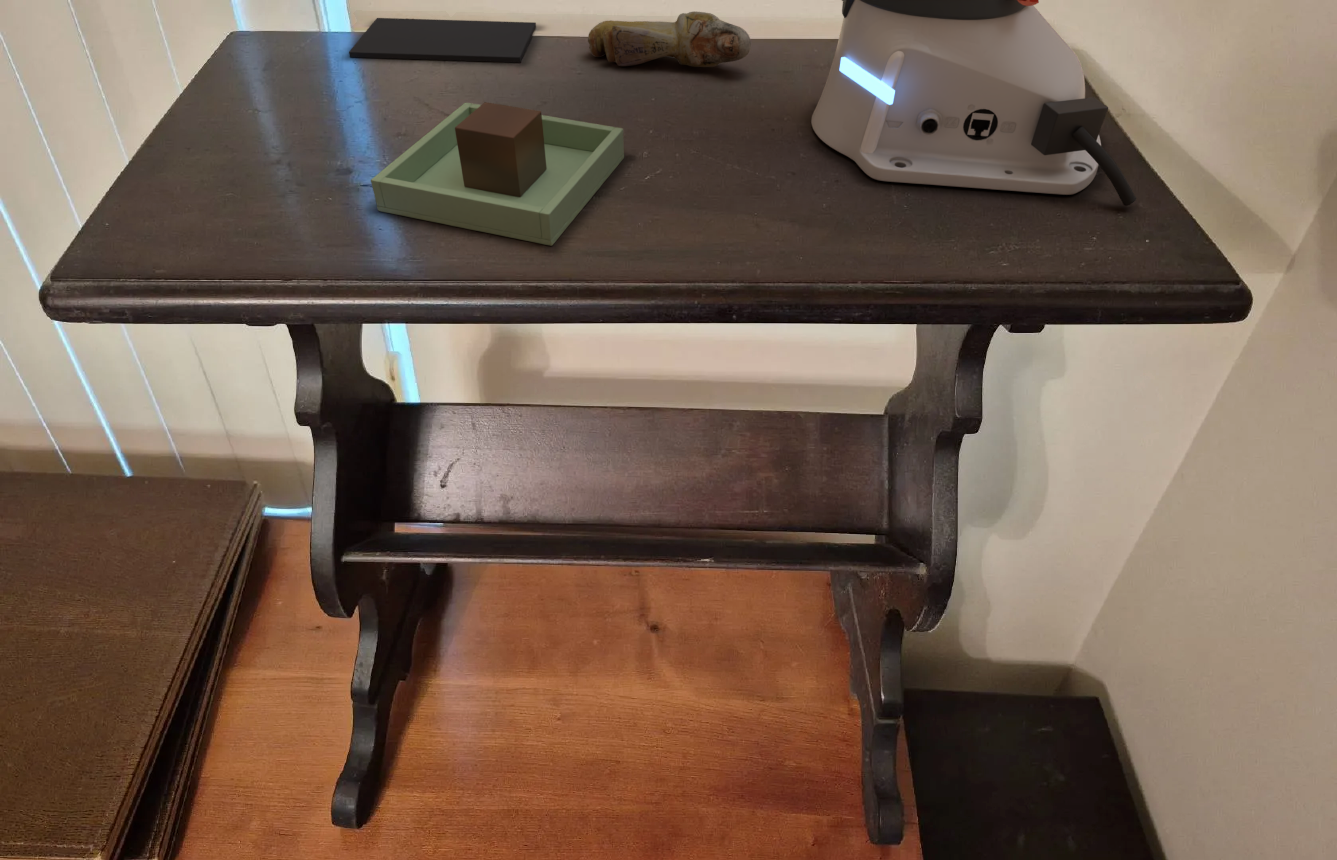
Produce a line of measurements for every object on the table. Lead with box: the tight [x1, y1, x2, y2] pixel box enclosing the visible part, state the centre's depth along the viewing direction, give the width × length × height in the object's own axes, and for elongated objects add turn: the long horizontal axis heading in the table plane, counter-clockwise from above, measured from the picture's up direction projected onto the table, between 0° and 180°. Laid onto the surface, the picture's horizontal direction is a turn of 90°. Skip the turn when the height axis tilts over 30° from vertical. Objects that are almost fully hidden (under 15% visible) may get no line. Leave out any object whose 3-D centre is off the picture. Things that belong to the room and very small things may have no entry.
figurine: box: [587, 11, 752, 68], centre depth 79 cm, size 5×5×15 cm
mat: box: [348, 17, 537, 63], centre depth 84 cm, size 16×9×1 cm, turn 87°
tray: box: [370, 102, 625, 247], centre depth 64 cm, size 13×13×2 cm
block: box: [455, 101, 547, 197], centre depth 63 cm, size 4×4×4 cm
